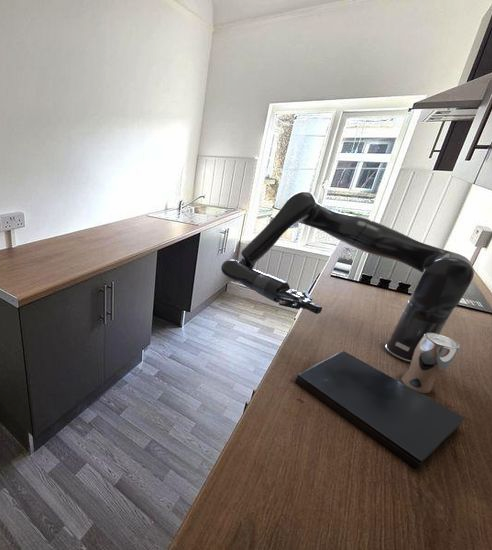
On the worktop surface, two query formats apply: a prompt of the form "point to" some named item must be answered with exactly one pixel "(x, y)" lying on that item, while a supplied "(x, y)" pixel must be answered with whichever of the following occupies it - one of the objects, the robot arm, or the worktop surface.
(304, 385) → the laptop
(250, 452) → the worktop surface
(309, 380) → the laptop screen
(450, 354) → the beer glass
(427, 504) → the worktop surface
